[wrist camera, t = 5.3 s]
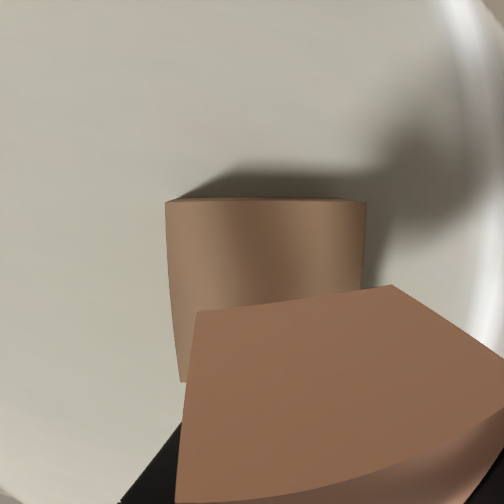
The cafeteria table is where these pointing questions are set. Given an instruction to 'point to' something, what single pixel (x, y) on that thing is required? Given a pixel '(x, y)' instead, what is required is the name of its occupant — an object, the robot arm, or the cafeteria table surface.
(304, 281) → the walnut block
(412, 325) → the terracotta block
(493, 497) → the robot arm
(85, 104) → the cafeteria table surface
